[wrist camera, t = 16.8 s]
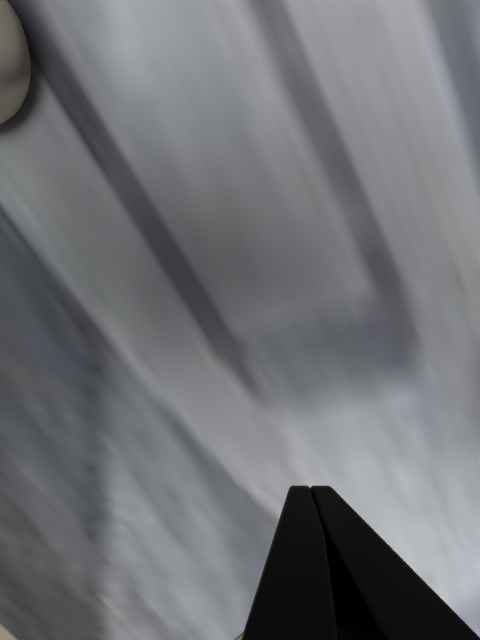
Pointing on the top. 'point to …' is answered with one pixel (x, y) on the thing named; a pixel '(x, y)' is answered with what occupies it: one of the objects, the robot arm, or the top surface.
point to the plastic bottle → (12, 62)
